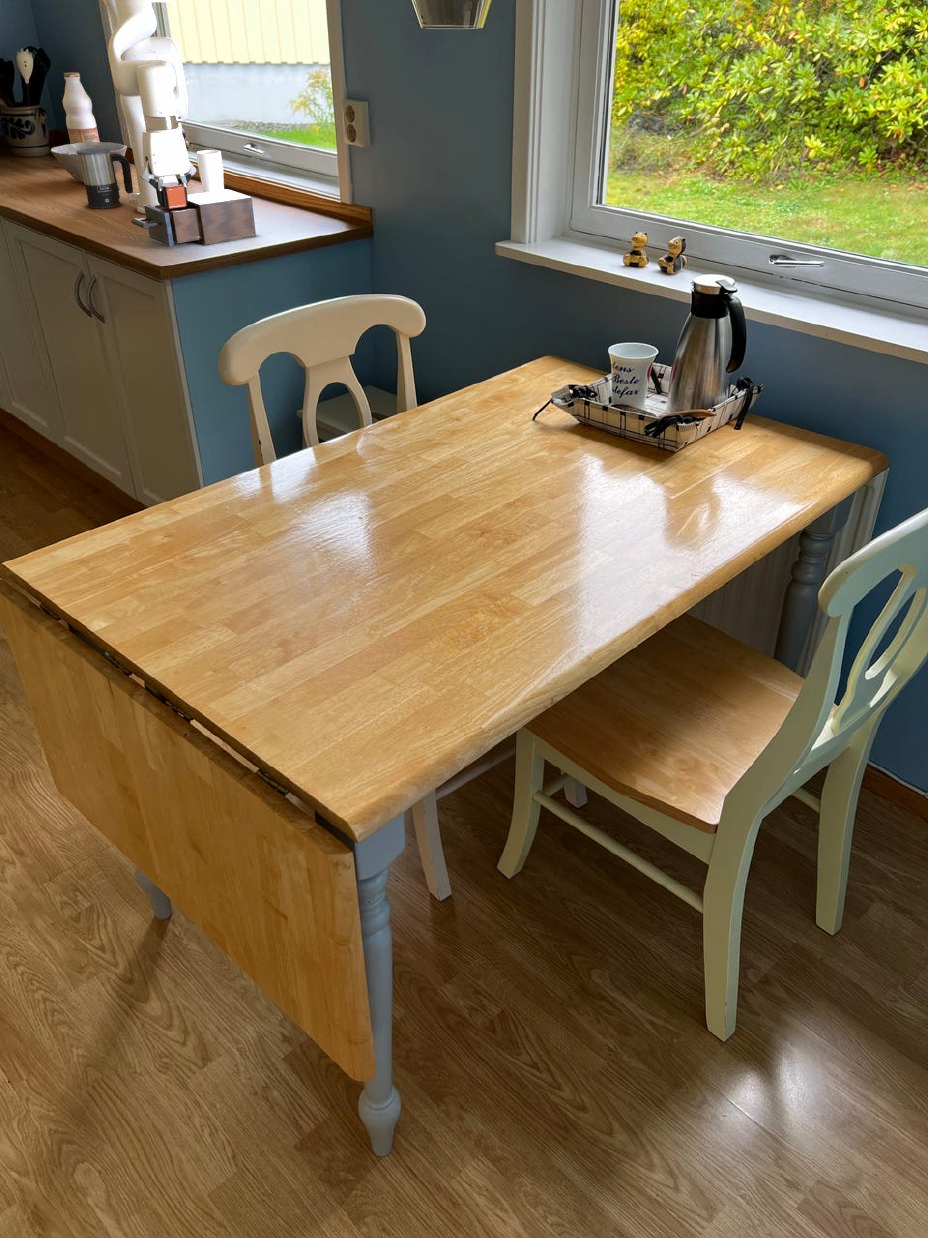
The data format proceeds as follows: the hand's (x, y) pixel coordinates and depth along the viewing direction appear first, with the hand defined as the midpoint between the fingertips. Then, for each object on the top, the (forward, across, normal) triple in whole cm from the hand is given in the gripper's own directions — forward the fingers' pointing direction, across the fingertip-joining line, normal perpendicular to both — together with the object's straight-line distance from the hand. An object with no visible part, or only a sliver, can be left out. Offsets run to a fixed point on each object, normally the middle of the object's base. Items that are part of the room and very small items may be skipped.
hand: (173, 204), depth 241 cm
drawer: (+8, +1, 0) cm, 8 cm away
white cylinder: (+10, -26, -29) cm, 40 cm away
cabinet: (+9, -11, 0) cm, 14 cm away
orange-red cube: (0, 0, 0) cm, 0 cm away
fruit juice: (+10, -24, -116) cm, 119 cm away
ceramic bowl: (+10, -15, -89) cm, 91 cm away
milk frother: (+10, -4, -57) cm, 58 cm away
